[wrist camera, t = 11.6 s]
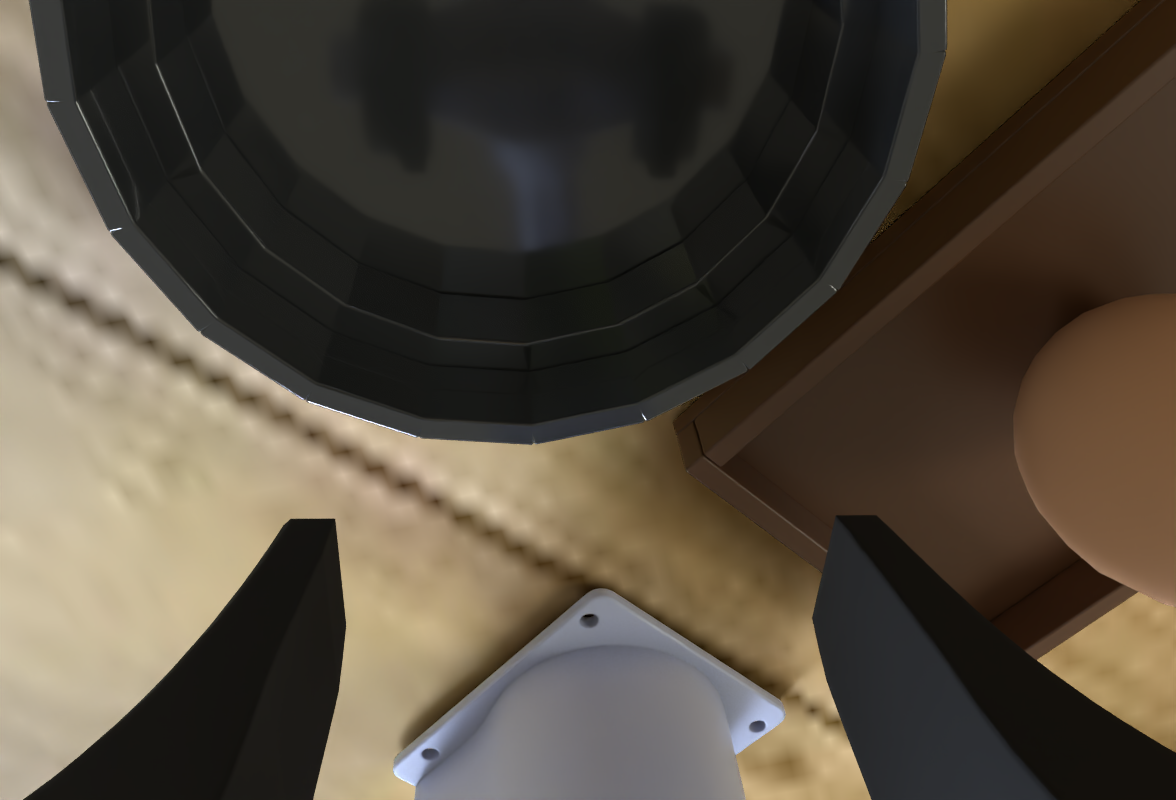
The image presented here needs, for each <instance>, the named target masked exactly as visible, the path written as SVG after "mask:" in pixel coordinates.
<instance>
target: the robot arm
mask: <svg viewBox="0 0 1176 800" xmlns="http://www.w3.org/2000/svg"><path fill="white" fill-rule="evenodd" d="M586 614H593V615H594V616H592V617H588V618H585V617H582V616H584V615H586ZM812 619H813V624H814V628H815V633H816V638H817V642H818V647H819V651H820V655H821V659H822V663H823V667H824V671H825V676H826V680H827V683H828V685H829V688H830V691H831V694H832V697H833V699H834V702H835V705H836V707H837V710H838V713H839V715H840V718H841V721H842V723H843V726H844V729H845V731H846V734H847V737H848V739H849V742H850V744H851V747H852V750H853V752H854V755H855V757H856V760H857V763H858V765H859V768H860V770H861V773H862V776H863V778H864V781H865V784H866V786H867V789H868V791H869V794H870V797H871V799H872V800H1176V753H1175V752H1173V751H1172V750H1170V749H1168V748H1166V747H1165V746H1163V745H1161V744H1160V743H1158V742H1156V741H1155V740H1153V739H1151V738H1150V737H1148V736H1147V735H1145V734H1143V733H1142V732H1140V731H1138V730H1137V729H1135V728H1133V727H1132V726H1130V725H1129V724H1127V723H1125V722H1124V721H1122V720H1120V719H1119V718H1117V717H1116V716H1114V715H1113V714H1111V713H1110V712H1108V711H1107V710H1105V709H1104V708H1102V707H1101V706H1099V705H1097V704H1096V703H1095V702H1093V701H1092V700H1090V699H1089V698H1087V697H1086V696H1085V695H1083V694H1082V693H1080V692H1079V691H1078V690H1076V689H1075V688H1073V687H1072V686H1071V685H1069V684H1068V683H1066V682H1065V681H1064V680H1062V679H1061V678H1059V677H1058V676H1057V675H1055V674H1054V673H1052V672H1051V671H1050V670H1048V669H1047V668H1046V667H1045V666H1043V665H1042V664H1041V663H1039V662H1038V661H1037V660H1035V659H1034V658H1033V657H1032V656H1030V655H1029V654H1028V653H1027V652H1026V651H1024V650H1023V649H1022V648H1021V647H1019V646H1018V645H1017V644H1016V643H1015V642H1013V641H1012V640H1011V639H1010V638H1009V637H1007V636H1006V635H1005V634H1004V633H1002V632H1001V631H1000V630H999V629H998V628H996V627H995V626H994V625H993V624H992V623H991V622H990V621H988V620H987V619H986V618H985V617H984V616H983V615H982V614H980V613H979V612H978V611H977V610H976V609H975V608H974V607H973V606H972V605H970V604H969V603H968V602H967V601H966V600H965V599H964V598H963V597H962V596H961V595H960V594H958V593H957V592H956V591H955V590H954V589H953V588H952V587H951V586H950V585H949V584H948V583H947V582H946V581H945V580H943V579H942V578H941V577H940V576H939V575H938V574H937V573H936V572H935V571H934V570H933V569H932V568H931V567H930V566H929V565H928V564H927V563H926V562H925V561H924V560H923V559H922V558H921V557H920V556H919V555H917V554H916V553H915V552H914V551H913V550H912V549H911V548H910V547H909V546H908V545H907V544H906V543H905V542H904V541H903V540H902V539H901V538H900V537H899V536H898V535H897V534H896V533H895V532H894V531H893V530H892V529H891V528H890V527H889V526H888V525H887V524H885V523H884V522H883V521H882V520H881V519H880V518H879V517H878V516H877V515H836V516H835V521H834V525H833V529H832V534H831V538H830V542H829V547H828V551H827V556H826V560H825V564H824V569H823V573H822V577H821V582H820V586H819V591H818V595H817V599H816V604H815V608H814V612H813V617H812ZM345 631H346V619H345V609H344V600H343V590H342V581H341V571H340V561H339V552H338V542H337V533H336V523H335V519H290V520H289V521H288V522H287V523H286V524H285V525H283V527H282V528H281V530H280V532H279V533H278V535H277V536H276V538H275V539H274V541H273V542H272V544H271V545H270V547H269V548H268V550H267V551H266V552H265V554H264V555H263V557H262V558H261V560H260V561H259V562H258V564H257V565H256V567H255V568H254V569H253V571H252V572H251V574H250V575H249V576H248V578H247V579H246V580H245V582H244V583H243V584H242V586H241V587H240V588H239V590H238V591H237V592H236V593H235V595H234V596H233V597H232V599H231V600H230V601H229V602H228V604H227V605H226V606H225V607H224V609H223V610H222V611H221V613H220V614H219V615H218V616H217V618H216V619H215V620H214V621H213V623H212V624H211V625H210V626H209V627H208V629H207V630H206V631H205V632H204V633H203V634H202V636H201V637H200V638H199V639H198V640H197V641H196V642H195V644H194V645H193V646H192V647H191V648H190V649H189V650H188V651H187V653H186V654H185V655H184V656H183V657H182V658H181V659H180V661H179V662H178V663H177V664H176V665H175V666H174V667H173V668H172V669H171V671H170V672H169V673H168V674H167V675H166V676H165V677H164V678H163V679H162V680H161V681H160V682H159V683H158V684H157V685H156V686H155V687H154V688H153V689H152V690H151V691H150V692H149V693H148V694H147V695H146V696H145V697H144V698H143V699H142V700H141V701H140V702H139V703H138V704H137V705H136V706H135V707H134V708H133V709H132V710H131V711H130V712H129V713H128V714H127V715H125V716H124V717H123V718H122V719H121V720H120V721H119V722H118V723H117V724H116V725H115V726H114V727H112V728H111V729H110V730H109V731H108V732H107V733H106V734H104V735H103V736H102V737H101V738H100V739H99V740H97V741H96V742H95V743H94V744H93V745H92V746H91V747H89V748H88V749H87V750H86V751H85V752H84V753H83V754H81V755H80V756H79V757H78V758H77V759H75V760H74V761H73V762H72V763H71V764H69V765H68V766H67V767H66V768H64V769H63V770H62V771H61V772H59V773H58V774H57V775H56V776H54V777H53V778H52V779H51V780H49V781H48V782H46V783H45V784H44V785H42V786H41V787H40V788H38V789H37V790H36V791H34V792H33V793H32V794H30V795H29V796H27V797H26V798H25V799H23V800H313V797H314V793H315V789H316V785H317V780H318V776H319V772H320V768H321V764H322V760H323V755H324V751H325V747H326V743H327V739H328V735H329V730H330V726H331V722H332V718H333V713H334V709H335V705H336V700H337V696H338V692H339V684H340V676H341V667H342V659H343V650H344V641H345ZM785 715H786V714H785V710H784V706H783V703H782V702H781V701H780V700H779V699H778V698H776V697H775V696H773V695H772V694H770V693H769V692H767V691H766V690H764V689H762V688H761V687H759V686H758V685H756V684H755V683H753V682H752V681H750V680H749V679H747V678H746V677H744V676H742V675H741V674H739V673H738V672H736V671H735V670H733V669H732V668H730V667H729V666H727V665H726V664H724V663H722V662H721V661H719V660H718V659H716V658H715V657H713V656H712V655H710V654H709V653H707V652H706V651H704V650H702V649H701V648H699V647H698V646H696V645H695V644H693V643H692V642H690V641H689V640H687V639H686V638H684V637H682V636H681V635H679V634H678V633H676V632H675V631H673V630H672V629H670V628H669V627H667V626H666V625H664V624H662V623H661V622H659V621H658V620H656V619H655V618H653V617H652V616H650V615H649V614H647V613H646V612H644V611H643V610H641V609H639V608H638V607H636V606H635V605H633V604H632V603H630V602H629V601H627V600H626V599H624V598H623V597H621V596H619V595H618V594H616V593H615V592H613V591H611V590H609V589H604V588H598V589H594V590H592V591H590V592H588V593H587V594H586V595H584V596H583V597H582V598H581V599H580V600H579V601H577V602H576V603H575V604H574V605H573V606H571V607H570V608H569V609H568V610H567V611H566V612H564V613H563V614H562V615H561V616H560V617H559V618H557V619H556V620H555V621H554V622H553V623H552V624H550V625H549V626H548V627H547V628H546V629H544V630H543V631H542V632H541V633H540V634H539V635H537V636H536V637H535V638H534V639H533V640H532V641H530V642H529V643H528V644H527V645H526V646H525V647H523V648H522V649H521V650H520V651H519V652H517V653H516V654H515V655H514V656H513V657H512V658H510V659H509V660H508V661H507V662H506V663H505V664H503V665H502V666H501V667H500V668H499V669H498V670H496V671H495V672H494V673H493V674H492V675H491V676H489V677H488V678H487V679H486V680H485V681H483V682H482V683H481V684H480V685H479V686H478V687H476V688H475V689H474V690H473V691H472V692H471V693H469V694H468V695H467V696H466V697H465V698H464V699H462V700H461V701H460V702H459V703H458V704H456V705H455V706H454V707H453V708H452V709H451V710H449V711H448V712H447V713H446V714H445V715H444V716H442V717H441V718H440V719H439V720H438V721H437V722H435V723H434V724H433V725H432V726H431V727H429V728H428V729H427V730H426V731H425V732H424V733H422V734H421V735H420V736H419V737H418V738H417V739H415V740H414V741H413V742H412V743H411V744H410V745H408V746H407V747H406V748H405V749H404V750H402V751H401V752H400V753H399V754H398V755H397V756H396V757H395V759H394V767H393V772H394V774H395V775H396V776H397V777H398V778H400V779H402V780H404V781H406V782H408V783H410V784H412V785H414V786H416V788H415V800H746V798H745V794H744V789H743V785H742V781H741V777H740V772H739V768H738V764H737V759H736V754H738V753H739V752H741V751H742V750H743V749H745V748H746V747H748V746H749V745H750V744H752V743H753V742H755V741H756V740H757V739H759V738H760V737H762V736H763V735H764V734H766V733H767V732H769V731H770V730H771V729H773V728H774V727H776V726H777V725H778V724H780V723H781V722H782V721H783V720H784V718H785ZM754 721H755V722H754ZM428 748H433V749H428Z"/></svg>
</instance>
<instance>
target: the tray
mask: <svg viewBox="0 0 1176 800" xmlns="http://www.w3.org/2000/svg"><path fill="white" fill-rule="evenodd" d="M1175 293H1176V0H1141V1H1140V2H1139V3H1138V4H1137V5H1136V6H1135V7H1133V8H1132V9H1131V10H1130V11H1129V12H1128V13H1127V14H1126V15H1125V16H1123V17H1122V18H1121V19H1120V20H1119V21H1118V22H1117V23H1116V24H1115V25H1113V26H1112V27H1111V28H1110V29H1109V30H1108V31H1107V32H1106V33H1105V34H1103V35H1102V36H1101V37H1100V38H1099V39H1098V40H1097V41H1096V42H1094V43H1093V44H1092V45H1091V46H1090V47H1089V48H1088V49H1087V50H1086V51H1084V52H1083V53H1082V54H1081V55H1080V56H1079V57H1078V58H1077V59H1076V60H1074V61H1073V62H1072V63H1071V64H1070V65H1069V66H1068V67H1067V68H1066V69H1064V70H1063V71H1062V72H1061V73H1060V74H1059V75H1058V76H1057V77H1056V78H1054V79H1053V80H1052V81H1051V82H1050V83H1049V84H1048V85H1047V86H1046V87H1044V88H1043V89H1042V90H1041V91H1040V92H1039V93H1038V94H1037V95H1036V96H1034V97H1033V98H1032V99H1031V100H1030V101H1029V102H1028V103H1027V104H1026V105H1024V106H1023V107H1022V108H1021V109H1020V110H1019V111H1018V112H1017V113H1016V114H1014V115H1013V116H1012V117H1011V118H1010V119H1009V120H1008V121H1007V122H1006V123H1004V124H1003V125H1002V126H1001V127H1000V128H999V129H998V130H997V131H996V132H994V133H993V134H992V135H991V136H990V137H989V138H988V139H987V140H986V141H984V142H983V143H982V144H981V145H980V146H979V147H978V148H977V149H976V150H974V151H973V152H972V153H971V154H970V155H969V156H968V157H967V158H966V159H964V160H963V161H962V162H961V163H960V164H959V165H958V166H957V167H956V168H954V169H953V170H952V171H951V172H950V173H949V174H948V175H947V176H946V177H944V178H943V179H942V180H941V181H940V182H939V183H938V184H937V185H936V186H934V187H933V188H932V189H931V190H930V191H929V192H928V193H927V194H926V195H924V196H923V197H922V198H921V199H920V200H919V201H918V202H917V203H916V204H914V205H913V206H912V207H911V208H910V209H909V210H908V211H907V212H906V213H904V214H903V215H902V216H901V217H900V218H899V219H898V220H897V221H896V222H894V223H893V224H892V225H891V226H890V227H889V228H888V229H887V230H886V231H884V232H883V233H882V234H881V235H880V236H879V237H878V238H877V239H876V240H874V241H873V242H872V243H871V244H870V245H869V246H868V247H867V248H866V249H865V251H864V252H863V254H862V255H861V257H860V259H859V260H858V262H857V263H856V265H855V266H854V268H853V270H852V271H851V273H850V274H849V276H848V277H847V279H846V280H845V282H844V284H843V285H842V287H841V288H840V289H837V292H836V293H835V294H834V295H833V296H832V297H831V298H830V299H829V300H828V301H827V302H825V303H824V304H823V305H822V306H821V307H820V308H819V309H818V310H816V311H815V312H814V313H813V314H812V315H811V316H810V317H809V318H807V319H806V320H805V321H804V322H803V323H802V324H801V325H800V326H798V327H797V328H796V329H795V330H794V331H793V332H792V333H791V334H790V335H788V336H787V337H786V338H785V339H784V340H783V341H782V342H781V343H779V344H778V345H777V346H776V347H775V348H774V349H773V350H772V351H770V352H769V353H768V354H767V355H766V356H765V357H764V358H763V359H761V360H760V361H759V362H758V363H757V364H756V365H755V366H754V367H753V368H751V369H748V371H747V372H745V373H743V374H741V375H739V376H737V377H735V378H733V379H731V380H729V381H727V382H725V383H723V384H721V385H719V386H717V387H715V388H713V389H711V390H709V391H707V392H706V393H704V394H703V395H702V396H701V397H700V398H699V399H698V400H697V401H696V402H694V403H693V404H692V405H691V406H690V407H689V408H688V409H687V410H686V411H684V412H683V413H682V414H681V415H680V416H679V417H678V418H677V419H676V420H674V422H673V425H674V429H675V433H676V435H677V439H678V443H679V447H680V451H681V455H682V459H683V462H684V466H685V470H686V472H688V473H689V474H690V475H692V476H693V477H694V478H696V479H697V480H698V481H700V482H701V483H702V484H704V485H705V486H706V487H708V488H709V489H710V490H712V491H713V492H714V493H716V494H717V495H718V496H720V497H721V498H722V499H724V500H725V501H726V502H728V503H729V504H730V505H732V506H733V507H734V508H736V509H737V510H738V511H740V512H741V513H742V514H744V515H745V516H746V517H748V518H749V519H750V520H752V521H753V522H755V523H756V524H757V525H759V526H760V527H761V528H763V529H764V530H765V531H767V532H768V533H769V534H771V535H772V536H773V537H775V538H776V539H777V540H779V541H780V542H781V543H783V544H784V545H785V546H787V547H788V548H789V549H791V550H792V551H793V552H795V553H796V554H797V555H799V556H800V557H801V558H803V559H804V560H805V561H807V562H808V563H809V564H811V565H812V566H813V567H815V568H816V569H817V570H819V571H820V572H821V573H823V569H824V564H825V560H826V556H827V551H828V547H829V542H830V538H831V534H832V529H833V525H834V521H835V516H836V515H877V516H878V517H879V518H880V519H881V520H882V521H883V522H884V523H885V524H887V525H888V526H889V527H890V528H891V529H892V530H893V531H894V532H895V533H896V534H897V535H898V536H899V537H900V538H901V539H902V540H903V541H904V542H905V543H906V544H907V545H908V546H909V547H910V548H911V549H912V550H913V551H914V552H915V553H916V554H917V555H919V556H920V557H921V558H922V559H923V560H924V561H925V562H926V563H927V564H928V565H929V566H930V567H931V568H932V569H933V570H934V571H935V572H936V573H937V574H938V575H939V576H940V577H941V578H942V579H943V580H945V581H946V582H947V583H948V584H949V585H950V586H951V587H952V588H953V589H954V590H955V591H956V592H957V593H958V594H960V595H961V596H962V597H963V598H964V599H965V600H966V601H967V602H968V603H969V604H970V605H972V606H973V607H974V608H975V609H976V610H977V611H978V612H979V613H980V614H982V615H983V616H984V617H985V618H986V619H987V620H988V621H990V622H991V623H992V624H993V625H994V626H995V627H996V628H998V629H999V630H1000V631H1001V632H1002V633H1004V634H1005V635H1006V636H1007V637H1009V638H1010V639H1011V640H1012V641H1013V642H1015V643H1016V644H1017V645H1018V646H1019V647H1021V648H1022V649H1023V650H1024V651H1026V652H1027V653H1028V654H1029V655H1030V656H1032V657H1033V658H1034V659H1035V660H1037V659H1038V658H1040V657H1041V656H1043V655H1044V654H1046V653H1047V652H1049V651H1050V650H1052V649H1053V648H1055V647H1056V646H1058V645H1059V644H1061V643H1062V642H1064V641H1065V640H1067V639H1068V638H1070V637H1071V636H1073V635H1074V634H1076V633H1077V632H1079V631H1080V630H1082V629H1083V628H1085V627H1086V626H1088V625H1089V624H1091V623H1092V622H1094V621H1095V620H1097V619H1098V618H1100V617H1101V616H1103V615H1104V614H1106V613H1107V612H1109V611H1110V610H1112V609H1113V608H1115V607H1116V606H1118V605H1119V604H1121V603H1122V602H1124V601H1125V600H1127V599H1128V598H1130V597H1131V596H1133V595H1134V594H1136V593H1137V592H1138V591H1136V590H1134V589H1132V588H1130V587H1128V586H1126V585H1124V584H1122V583H1120V582H1118V581H1116V580H1114V579H1112V578H1109V577H1107V576H1105V575H1103V574H1101V573H1099V572H1098V571H1097V570H1095V569H1094V568H1093V567H1092V566H1091V565H1090V564H1088V563H1087V562H1086V561H1085V560H1084V559H1083V558H1081V557H1080V556H1079V555H1078V554H1077V553H1076V552H1074V551H1073V550H1072V549H1071V548H1070V547H1069V546H1068V545H1067V544H1066V543H1065V542H1064V541H1063V540H1062V538H1061V537H1060V536H1059V535H1058V534H1057V532H1056V531H1055V530H1054V529H1053V528H1052V526H1051V525H1050V524H1049V523H1048V522H1047V521H1046V519H1045V518H1044V517H1043V516H1042V515H1041V513H1040V512H1039V511H1038V509H1037V507H1036V505H1035V504H1034V502H1033V500H1032V498H1031V496H1030V494H1029V492H1028V490H1027V488H1026V485H1025V483H1024V480H1023V478H1022V475H1021V473H1020V471H1019V468H1018V464H1017V461H1016V457H1015V453H1014V430H1013V414H1014V410H1015V406H1016V402H1017V398H1018V394H1019V390H1020V386H1021V382H1022V379H1023V377H1024V376H1025V374H1026V372H1027V370H1028V368H1029V366H1030V364H1031V362H1032V361H1033V359H1034V357H1035V355H1036V354H1037V353H1038V352H1039V351H1040V350H1041V349H1042V347H1043V346H1044V345H1045V344H1046V343H1047V342H1048V341H1049V340H1050V338H1051V337H1052V336H1053V335H1054V334H1055V333H1056V332H1057V331H1058V330H1060V329H1061V328H1063V327H1064V326H1065V325H1067V324H1068V323H1070V322H1071V321H1073V320H1074V319H1075V318H1077V317H1078V316H1080V315H1081V314H1082V313H1084V312H1087V311H1090V310H1092V309H1095V308H1097V307H1100V306H1103V305H1105V304H1108V303H1111V302H1113V301H1116V300H1119V299H1123V298H1127V297H1134V296H1141V295H1148V294H1175Z"/></svg>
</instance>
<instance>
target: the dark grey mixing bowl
mask: <svg viewBox="0 0 1176 800" xmlns="http://www.w3.org/2000/svg"><path fill="white" fill-rule="evenodd" d="M29 4H30V10H31V16H32V23H33V29H34V35H35V42H36V48H37V54H38V60H39V67H40V73H41V79H42V85H43V92H44V98H45V101H47V106H48V109H49V111H50V113H51V115H52V117H53V119H54V121H55V123H56V125H57V127H58V129H59V131H60V133H61V135H62V137H63V139H64V141H65V143H66V145H67V147H68V149H69V151H70V154H71V156H72V158H73V160H74V162H75V164H76V166H77V168H78V170H79V172H80V174H81V176H82V178H83V180H84V182H85V184H86V186H87V188H88V190H89V192H90V194H91V196H92V199H93V201H94V203H95V205H96V207H97V209H98V211H99V213H100V215H101V217H102V219H103V221H104V223H105V225H106V227H107V229H108V230H109V231H111V235H112V236H113V238H114V239H115V240H116V241H117V242H118V243H119V244H120V245H121V246H122V248H123V249H124V250H125V251H126V252H127V253H128V254H129V255H130V256H131V258H132V259H133V260H134V261H135V262H136V263H137V264H138V265H139V266H140V268H141V269H142V270H143V271H144V272H145V273H146V274H147V275H148V276H149V278H150V279H151V280H152V281H153V282H154V283H155V284H156V285H157V287H158V288H159V289H160V290H161V291H162V292H163V293H164V294H165V295H166V297H167V298H168V299H169V300H170V301H171V302H172V303H173V304H174V305H175V307H176V308H177V309H178V310H179V311H180V312H181V313H182V314H183V315H184V317H185V318H186V319H187V320H188V321H189V322H190V323H191V324H192V325H193V327H194V328H195V329H196V330H197V331H199V332H200V331H201V334H202V335H203V336H205V337H206V338H208V339H209V340H211V341H212V342H214V343H216V344H217V345H219V346H220V347H222V348H223V349H225V350H226V351H228V352H229V353H231V354H233V355H234V356H236V357H237V358H239V359H240V360H242V361H243V362H245V363H247V364H248V365H250V366H251V367H253V368H254V369H256V370H257V371H259V372H260V373H262V374H264V375H265V376H267V377H268V378H270V379H271V380H273V381H274V382H276V383H277V384H279V385H281V386H282V387H284V388H285V389H287V390H288V391H290V392H291V393H293V394H295V395H296V396H298V397H299V398H301V399H302V400H306V401H307V402H308V403H312V404H315V405H318V406H321V407H324V408H327V409H330V410H333V411H336V412H339V413H342V414H345V415H348V416H352V417H355V418H358V419H361V420H364V421H367V422H370V423H373V424H376V425H379V426H382V427H385V428H389V429H392V430H395V431H398V432H401V433H404V434H407V435H410V436H413V437H420V438H423V439H440V440H458V441H475V442H493V443H510V444H528V445H532V444H533V443H535V444H540V443H545V442H550V441H555V440H560V439H565V438H570V437H575V436H580V435H585V434H590V433H594V432H599V431H604V430H609V429H614V428H619V427H624V426H629V425H634V424H639V423H643V422H644V421H645V420H646V421H649V420H651V419H653V418H655V417H657V416H659V415H661V414H663V413H665V412H667V411H669V410H671V409H673V408H675V407H677V406H679V405H681V404H683V403H685V402H687V401H689V400H691V399H693V398H695V397H697V396H699V395H701V394H703V393H705V392H707V391H709V390H711V389H713V388H715V387H717V386H719V385H721V384H723V383H725V382H727V381H729V380H731V379H733V378H735V377H737V376H739V375H741V374H743V373H745V372H747V371H748V369H751V368H753V367H754V366H755V365H756V364H757V363H758V362H759V361H760V360H761V359H763V358H764V357H765V356H766V355H767V354H768V353H769V352H770V351H772V350H773V349H774V348H775V347H776V346H777V345H778V344H779V343H781V342H782V341H783V340H784V339H785V338H786V337H787V336H788V335H790V334H791V333H792V332H793V331H794V330H795V329H796V328H797V327H798V326H800V325H801V324H802V323H803V322H804V321H805V320H806V319H807V318H809V317H810V316H811V315H812V314H813V313H814V312H815V311H816V310H818V309H819V308H820V307H821V306H822V305H823V304H824V303H825V302H827V301H828V300H829V299H830V298H831V297H832V296H833V295H834V294H835V293H836V292H837V289H840V288H841V287H842V285H843V284H844V282H845V280H846V279H847V277H848V276H849V274H850V273H851V271H852V270H853V268H854V266H855V265H856V263H857V262H858V260H859V259H860V257H861V255H862V254H863V252H864V251H865V249H866V248H867V246H868V245H869V243H870V241H871V240H872V238H873V237H874V235H875V234H876V232H877V231H878V229H879V227H880V226H881V224H882V223H883V221H884V220H885V218H886V217H887V215H888V213H889V212H890V210H891V209H892V207H893V206H894V204H895V202H896V201H897V199H898V198H899V196H900V195H901V193H902V192H903V190H904V188H905V187H906V185H907V183H906V182H908V180H909V177H910V174H911V171H912V167H913V164H914V160H915V157H916V154H917V150H918V147H919V144H920V140H921V137H922V134H923V130H924V127H925V124H926V120H927V117H928V113H929V110H930V107H931V103H932V100H933V97H934V93H935V90H936V87H937V83H938V80H939V77H940V73H941V70H942V66H943V63H944V60H945V56H946V51H945V50H947V0H29Z"/></svg>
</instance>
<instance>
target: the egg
mask: <svg viewBox="0 0 1176 800" xmlns="http://www.w3.org/2000/svg"><path fill="white" fill-rule="evenodd" d="M1013 430H1014V453H1015V457H1016V461H1017V464H1018V468H1019V471H1020V473H1021V475H1022V478H1023V480H1024V483H1025V485H1026V488H1027V490H1028V492H1029V494H1030V496H1031V498H1032V500H1033V502H1034V504H1035V505H1036V507H1037V509H1038V511H1039V512H1040V513H1041V515H1042V516H1043V517H1044V518H1045V519H1046V521H1047V522H1048V523H1049V524H1050V525H1051V526H1052V528H1053V529H1054V530H1055V531H1056V532H1057V534H1058V535H1059V536H1060V537H1061V538H1062V540H1063V541H1064V542H1065V543H1066V544H1067V545H1068V546H1069V547H1070V548H1071V549H1072V550H1073V551H1074V552H1076V553H1077V554H1078V555H1079V556H1080V557H1081V558H1083V559H1084V560H1085V561H1086V562H1087V563H1088V564H1090V565H1091V566H1092V567H1093V568H1094V569H1095V570H1097V571H1098V572H1099V573H1101V574H1103V575H1105V576H1107V577H1109V578H1112V579H1114V580H1116V581H1118V582H1120V583H1122V584H1124V585H1126V586H1128V587H1130V588H1132V589H1134V590H1136V591H1138V592H1140V593H1142V594H1144V595H1146V596H1148V597H1150V598H1152V599H1154V600H1157V601H1159V602H1161V603H1163V604H1166V605H1170V606H1173V607H1176V293H1175V294H1148V295H1141V296H1134V297H1127V298H1123V299H1119V300H1116V301H1113V302H1111V303H1108V304H1105V305H1103V306H1100V307H1097V308H1095V309H1092V310H1090V311H1087V312H1084V313H1082V314H1081V315H1080V316H1078V317H1077V318H1075V319H1074V320H1073V321H1071V322H1070V323H1068V324H1067V325H1065V326H1064V327H1063V328H1061V329H1060V330H1058V331H1057V332H1056V333H1055V334H1054V335H1053V336H1052V337H1051V338H1050V340H1049V341H1048V342H1047V343H1046V344H1045V345H1044V346H1043V347H1042V349H1041V350H1040V351H1039V352H1038V353H1037V354H1036V355H1035V357H1034V359H1033V361H1032V362H1031V364H1030V366H1029V368H1028V370H1027V372H1026V374H1025V376H1024V377H1023V379H1022V382H1021V386H1020V390H1019V394H1018V398H1017V402H1016V406H1015V410H1014V414H1013Z"/></svg>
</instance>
